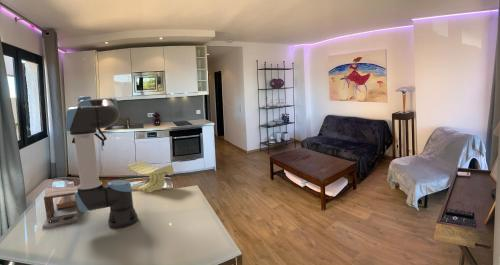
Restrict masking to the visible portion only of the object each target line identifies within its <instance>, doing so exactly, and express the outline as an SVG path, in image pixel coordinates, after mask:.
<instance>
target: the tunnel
mask: <svg viewBox="0 0 500 265" xmlns="http://www.w3.org/2000/svg"><path fill="white" fill-rule="evenodd" d="M78 186H79V185H74V186H72V187H68V186H67V187H59V188H53V189H48V191H47V192H46V193H45V195H44V196H43V201H44V202H43V203H44V208H45V209H44V210H45V213H46V214H45V215H46V218H45V220H44V222H43V224H42V225H41V226H42V227H41V228H42V229H43V228H44V229H48V228H47V227H50V228H53V227H52V226H55V227H60V226H59V225H61V226H65V224H66V225H70V223H71V224H77V223H78V220H79V217H80V214H81V212H82V211H80V210H79V208H78V206H77V203H76V206H75V207H76V212H74V213H68V214H62V215H58V216H56V215H55V216H53V214H54V212H55V204H54V198H55V199H56V198H61V197H62V196H69V195H75V191H76V190H78V188H77V187H78ZM75 201H76V198H75ZM50 221H51V222H50ZM76 222H77V223H76Z"/></svg>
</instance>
